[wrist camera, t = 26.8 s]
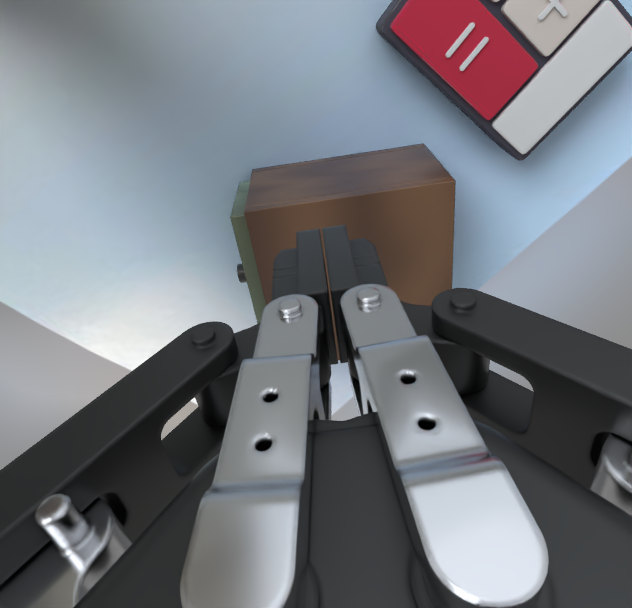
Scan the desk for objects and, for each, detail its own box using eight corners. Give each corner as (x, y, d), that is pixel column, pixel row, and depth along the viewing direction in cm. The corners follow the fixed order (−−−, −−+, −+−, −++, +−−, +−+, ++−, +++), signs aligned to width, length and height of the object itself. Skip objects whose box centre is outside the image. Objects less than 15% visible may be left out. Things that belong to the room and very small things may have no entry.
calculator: (507, -149, 27) (654, 36, 32) (484, -131, 30) (619, 33, 35) (378, 29, 31) (524, 166, 36) (371, 27, 35) (505, 151, 40)
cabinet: (282, 308, 48) (281, 368, 40) (252, 169, 40) (243, 211, 32) (424, 288, 47) (450, 345, 40) (423, 143, 39) (455, 180, 32)
